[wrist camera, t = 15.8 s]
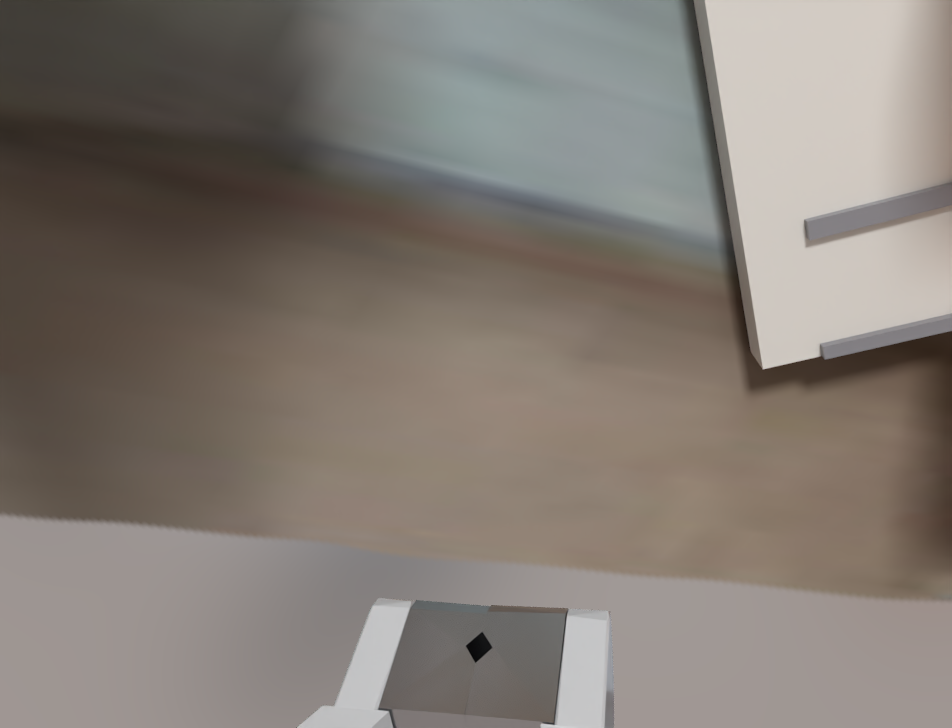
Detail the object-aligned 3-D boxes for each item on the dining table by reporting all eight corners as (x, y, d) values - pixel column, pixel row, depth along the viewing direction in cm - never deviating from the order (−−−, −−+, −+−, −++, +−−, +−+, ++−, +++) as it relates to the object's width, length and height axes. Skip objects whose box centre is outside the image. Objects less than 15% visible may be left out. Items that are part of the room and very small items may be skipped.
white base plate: (661, -197, 29) (676, -219, 26) (1145, -359, 26) (1218, -403, 24) (750, 352, 37) (769, 378, 34) (1126, 264, 35) (1179, 286, 32)
